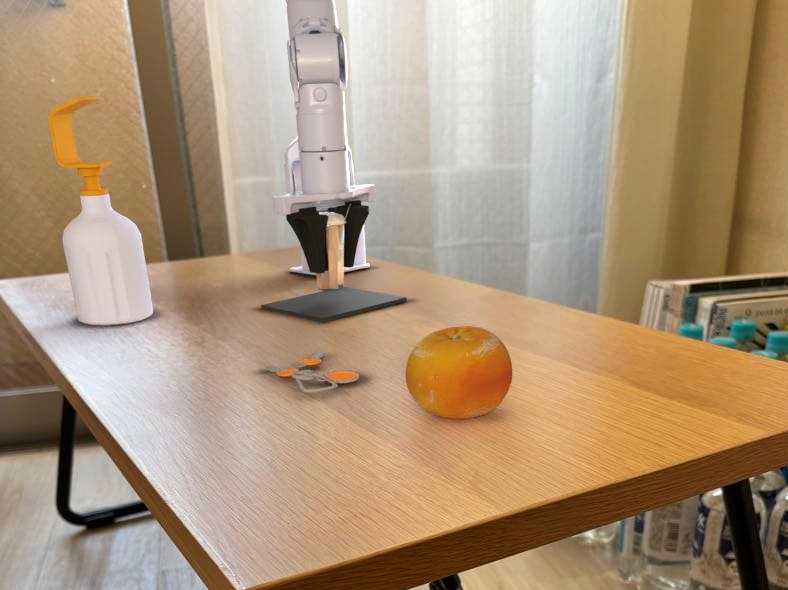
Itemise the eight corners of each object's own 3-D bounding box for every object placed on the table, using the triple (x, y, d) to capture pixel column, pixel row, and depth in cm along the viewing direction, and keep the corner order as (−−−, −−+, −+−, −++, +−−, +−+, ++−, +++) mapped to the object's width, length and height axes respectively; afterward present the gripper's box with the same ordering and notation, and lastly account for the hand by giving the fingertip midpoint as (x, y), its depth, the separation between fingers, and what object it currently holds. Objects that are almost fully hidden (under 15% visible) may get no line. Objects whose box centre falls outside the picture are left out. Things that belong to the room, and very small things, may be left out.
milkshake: (347, 293, 109) (344, 206, 105) (307, 291, 111) (301, 205, 106) (360, 286, 113) (357, 202, 109) (320, 284, 115) (316, 202, 110)
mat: (344, 290, 121) (343, 286, 121) (406, 301, 113) (406, 297, 113) (260, 309, 112) (260, 304, 112) (322, 322, 105) (322, 318, 104)
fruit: (371, 370, 74) (424, 290, 70) (438, 384, 80) (490, 311, 76) (424, 439, 70) (483, 358, 66) (490, 448, 76) (548, 374, 72)
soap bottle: (133, 327, 106) (93, 96, 95) (64, 326, 108) (17, 99, 97) (166, 310, 114) (133, 94, 103) (100, 309, 116) (61, 97, 104)
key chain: (372, 386, 81) (371, 377, 81) (294, 398, 79) (294, 389, 78) (326, 353, 92) (325, 345, 91) (256, 363, 89) (256, 355, 89)
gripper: (296, 155, 98) (307, 282, 104) (391, 146, 107) (395, 263, 113) (257, 154, 102) (270, 276, 108) (351, 145, 111) (358, 258, 117)
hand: (331, 269), depth 111 cm, fingers closed on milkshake, 4 cm apart
